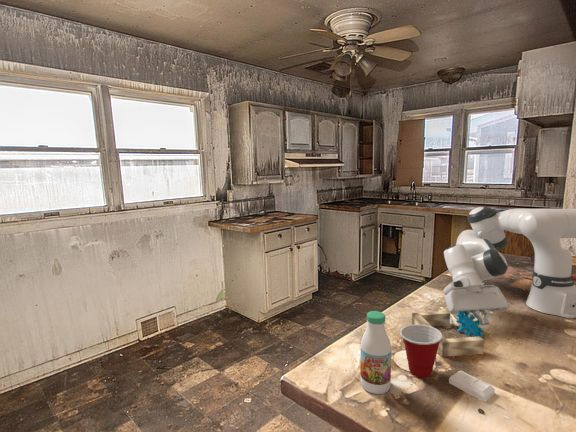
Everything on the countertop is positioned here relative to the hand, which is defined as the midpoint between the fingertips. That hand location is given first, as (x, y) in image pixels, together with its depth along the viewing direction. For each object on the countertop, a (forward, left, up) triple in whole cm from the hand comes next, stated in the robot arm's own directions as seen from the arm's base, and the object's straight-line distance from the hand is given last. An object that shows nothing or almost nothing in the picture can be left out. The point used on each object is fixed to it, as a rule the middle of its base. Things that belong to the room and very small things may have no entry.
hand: (485, 324), depth 109 cm
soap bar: (+21, +24, -4) cm, 33 cm away
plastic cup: (+31, +16, -4) cm, 35 cm away
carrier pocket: (+15, 0, -4) cm, 15 cm away
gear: (+5, 0, -4) cm, 7 cm away
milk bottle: (+45, +20, -4) cm, 50 cm away
